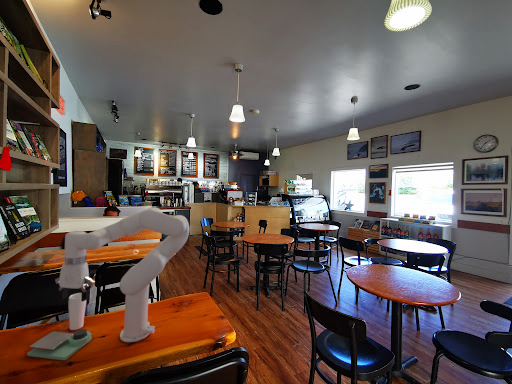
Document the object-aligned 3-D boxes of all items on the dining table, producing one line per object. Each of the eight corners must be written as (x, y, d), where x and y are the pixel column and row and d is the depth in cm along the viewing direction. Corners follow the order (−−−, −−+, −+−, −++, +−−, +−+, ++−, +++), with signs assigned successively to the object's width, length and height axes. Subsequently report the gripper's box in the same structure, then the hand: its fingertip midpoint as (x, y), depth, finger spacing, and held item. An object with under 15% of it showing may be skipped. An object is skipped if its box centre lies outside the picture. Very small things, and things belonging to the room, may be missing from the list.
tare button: (88, 334, 102) (89, 329, 102) (80, 340, 97) (80, 335, 97) (79, 333, 102) (79, 328, 102) (70, 339, 98) (70, 334, 98)
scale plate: (74, 334, 101) (74, 333, 101) (52, 350, 91) (52, 349, 91) (53, 332, 101) (53, 331, 101) (28, 347, 92) (28, 346, 92)
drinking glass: (69, 333, 105) (71, 300, 105) (65, 327, 110) (66, 295, 109) (87, 327, 111) (88, 295, 111) (82, 321, 115) (83, 291, 115)
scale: (94, 338, 103) (94, 331, 103) (66, 360, 90) (67, 353, 90) (59, 334, 105) (59, 327, 105) (27, 356, 91) (27, 348, 91)
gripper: (48, 261, 99) (47, 302, 99) (87, 264, 98) (86, 304, 98) (64, 256, 106) (63, 294, 106) (100, 258, 105) (99, 296, 105)
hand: (74, 299), depth 102 cm, fingers open, 9 cm apart
